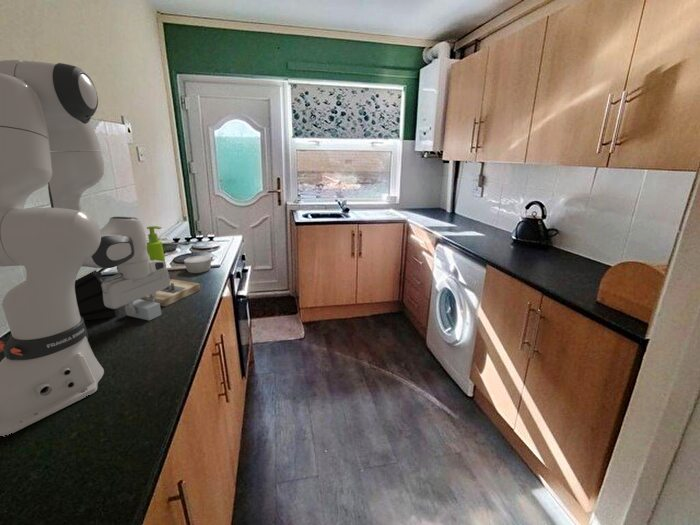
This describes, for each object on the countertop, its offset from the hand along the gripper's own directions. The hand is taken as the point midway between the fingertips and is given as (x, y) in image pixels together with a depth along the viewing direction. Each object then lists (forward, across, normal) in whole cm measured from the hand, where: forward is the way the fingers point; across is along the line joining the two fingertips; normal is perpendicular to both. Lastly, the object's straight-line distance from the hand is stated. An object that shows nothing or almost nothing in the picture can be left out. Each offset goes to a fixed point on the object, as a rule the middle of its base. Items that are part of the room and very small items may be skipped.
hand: (143, 310), depth 108 cm
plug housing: (+2, 0, 0) cm, 2 cm away
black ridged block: (+2, -7, +13) cm, 15 cm away
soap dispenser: (+2, +33, +31) cm, 45 cm away
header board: (+2, +15, +6) cm, 16 cm away
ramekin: (+2, +41, +17) cm, 44 cm away
